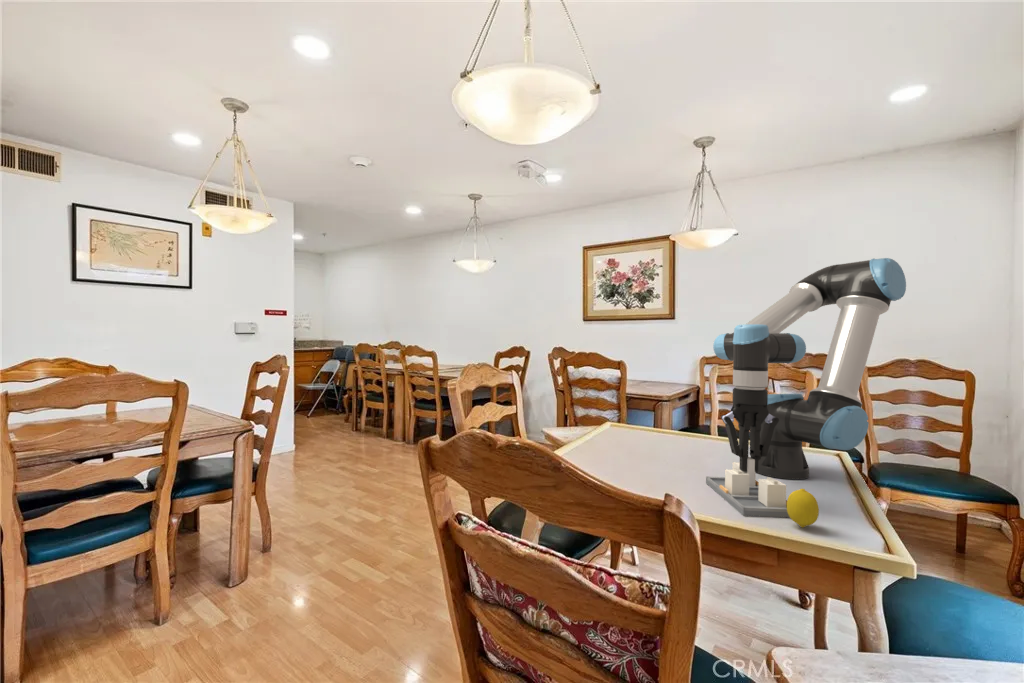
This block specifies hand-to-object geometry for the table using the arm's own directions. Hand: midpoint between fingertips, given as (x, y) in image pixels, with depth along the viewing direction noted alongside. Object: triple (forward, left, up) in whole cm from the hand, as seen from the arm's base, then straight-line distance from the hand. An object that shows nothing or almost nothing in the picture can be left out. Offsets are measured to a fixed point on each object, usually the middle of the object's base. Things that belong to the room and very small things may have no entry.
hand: (748, 484), depth 106 cm
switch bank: (+1, 0, -3) cm, 3 cm away
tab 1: (-2, -7, -2) cm, 8 cm away
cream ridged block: (+3, 0, -2) cm, 3 cm away
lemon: (-3, +16, -4) cm, 17 cm away
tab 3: (-2, +7, -2) cm, 7 cm away
